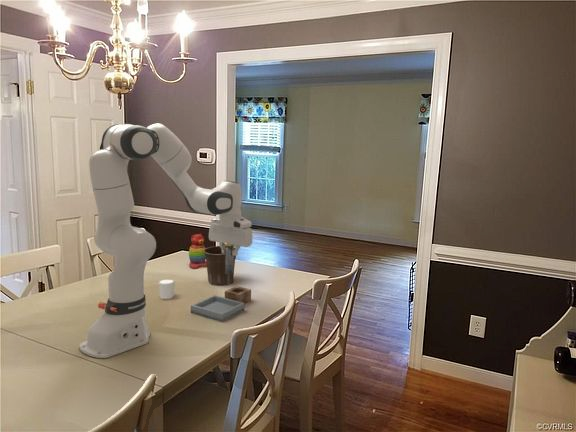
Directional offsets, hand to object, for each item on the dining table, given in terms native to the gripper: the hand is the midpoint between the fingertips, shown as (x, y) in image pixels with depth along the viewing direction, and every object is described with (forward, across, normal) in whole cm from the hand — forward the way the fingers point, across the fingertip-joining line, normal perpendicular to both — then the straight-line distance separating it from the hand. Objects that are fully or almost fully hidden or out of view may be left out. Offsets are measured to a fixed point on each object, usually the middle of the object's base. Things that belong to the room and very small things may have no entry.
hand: (229, 254), depth 167 cm
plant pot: (+22, -23, +22) cm, 38 cm away
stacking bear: (+21, -51, +36) cm, 66 cm away
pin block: (+22, 0, +6) cm, 23 cm away
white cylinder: (+22, -29, -7) cm, 37 cm away
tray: (+22, 0, -7) cm, 23 cm away
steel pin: (+8, 0, 0) cm, 8 cm away
